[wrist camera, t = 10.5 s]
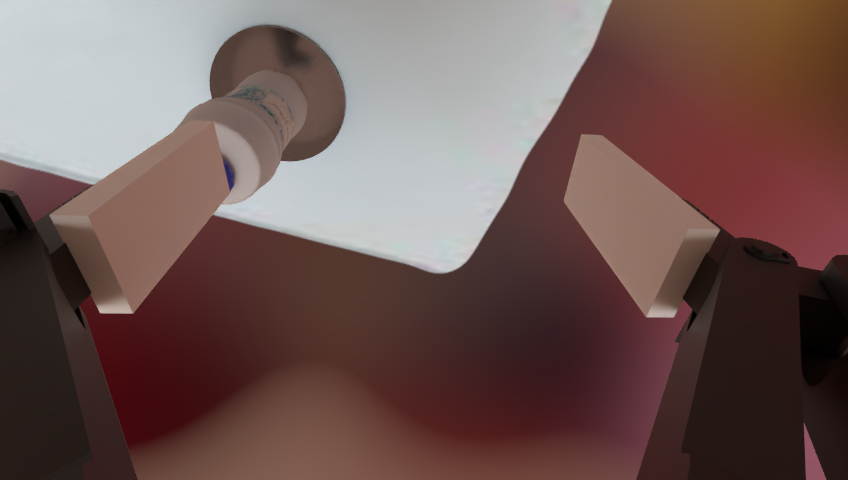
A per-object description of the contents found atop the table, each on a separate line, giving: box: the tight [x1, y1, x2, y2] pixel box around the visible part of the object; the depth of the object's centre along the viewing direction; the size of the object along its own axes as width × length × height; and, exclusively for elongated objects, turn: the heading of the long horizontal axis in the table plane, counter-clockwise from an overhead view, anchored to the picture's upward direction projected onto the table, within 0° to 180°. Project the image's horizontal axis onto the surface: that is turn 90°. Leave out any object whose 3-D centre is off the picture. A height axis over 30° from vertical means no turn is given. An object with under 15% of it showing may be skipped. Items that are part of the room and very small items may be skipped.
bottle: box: [173, 70, 307, 204], centre depth 32 cm, size 7×7×20 cm
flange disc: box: [210, 26, 345, 161], centre depth 40 cm, size 13×13×1 cm
